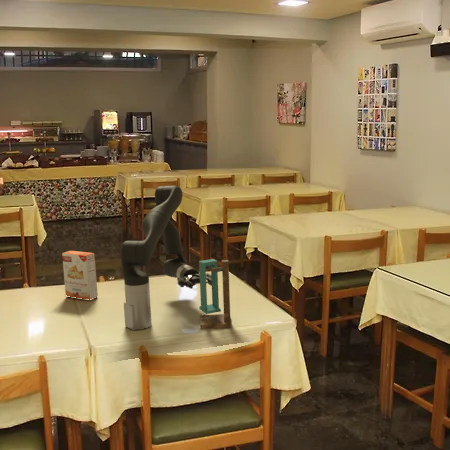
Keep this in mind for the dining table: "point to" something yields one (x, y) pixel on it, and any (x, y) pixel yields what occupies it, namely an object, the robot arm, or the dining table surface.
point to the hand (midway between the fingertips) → (202, 284)
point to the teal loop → (203, 292)
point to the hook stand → (223, 319)
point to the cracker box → (80, 274)
